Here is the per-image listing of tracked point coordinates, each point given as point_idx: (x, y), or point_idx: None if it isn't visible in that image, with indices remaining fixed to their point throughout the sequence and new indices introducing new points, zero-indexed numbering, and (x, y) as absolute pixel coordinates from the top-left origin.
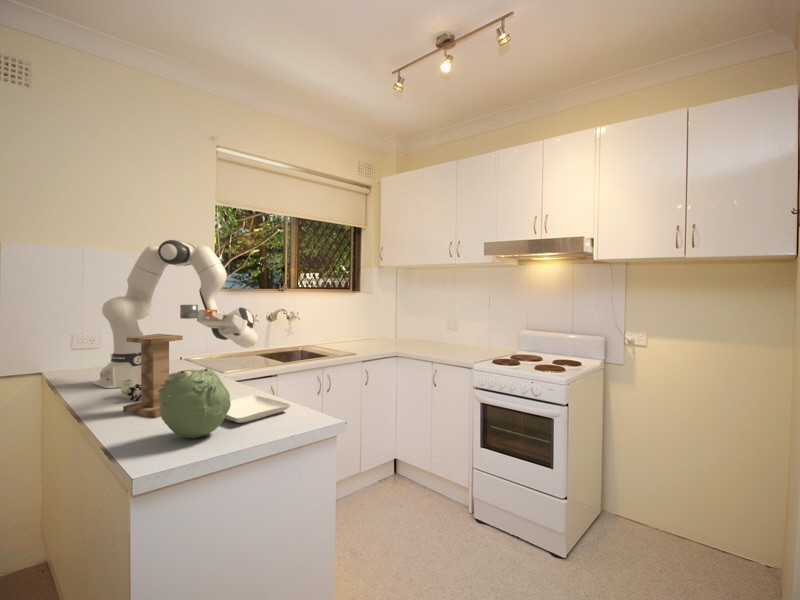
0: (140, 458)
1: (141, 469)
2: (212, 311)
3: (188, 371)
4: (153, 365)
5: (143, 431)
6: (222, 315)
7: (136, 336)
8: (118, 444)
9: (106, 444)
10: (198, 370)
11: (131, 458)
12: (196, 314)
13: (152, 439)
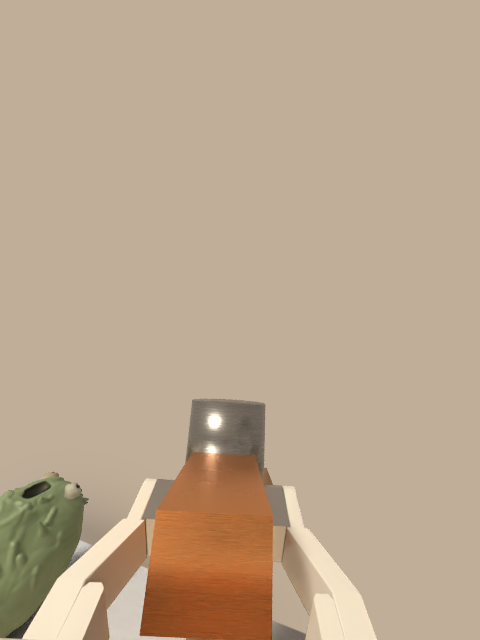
0: None
1: None
2: (156, 480)
3: (43, 478)
4: None
5: (119, 619)
6: (39, 615)
7: (264, 475)
8: None
9: (142, 567)
10: (26, 486)
11: (81, 552)
12: (187, 450)
13: None
